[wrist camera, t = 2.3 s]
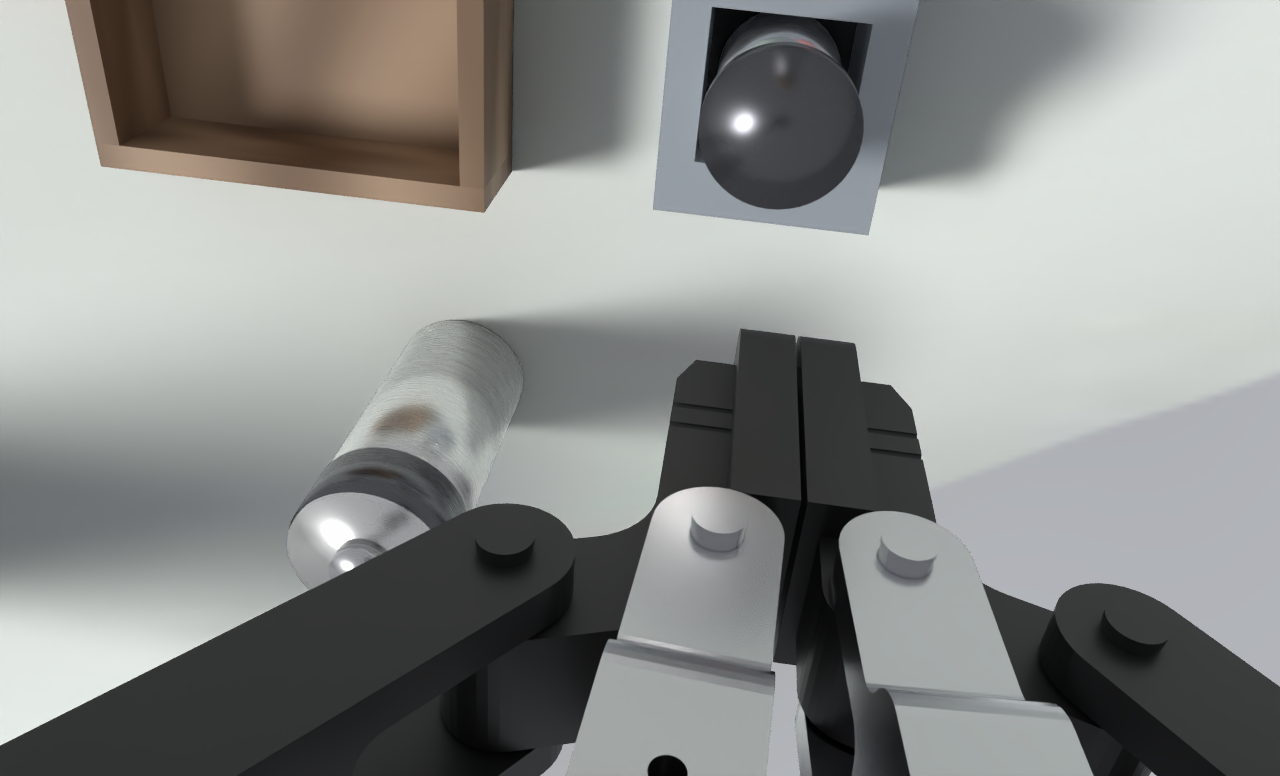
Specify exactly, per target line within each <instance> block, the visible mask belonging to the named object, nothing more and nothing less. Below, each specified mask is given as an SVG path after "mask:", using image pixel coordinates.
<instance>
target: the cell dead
mask: <svg viewBox="0 0 1280 776" xmlns="http://www.w3.org/2000/svg"><path fill="white" fill-rule="evenodd" d="M522 389H523V374H522V369H521V366H520V363H519V361H518V359H517V357H516V355H515V354H514V352H513V351H512V349H511V348H510V347H509V346H508V344H507V343H506V342H505V341H504V340H502V339H501V338H500V337H499V336H498V335H496V334H495V333H493V332H492V331H490V330H488V329H487V328H485V327H482V326H480V325H477V324H474V323H471V322H466V321H458V320H448V321H441V322H437V323H433V324H431V325H428V326H426V327H424V328H423V329H421V330H420V331H419V332H417V333H416V334H415V335H414V336H413V338H412V339H411V340H410V341H409V343H408V345H407V346H406V348H405V349H404V351H403V352H402V354H401V355H400V357H399V358H398V360H397V362H396V363H395V365H394V366H393V368H392V369H391V371H390V372H389V374H388V375H387V377H386V378H385V380H384V382H383V383H382V385H381V386H380V388H379V389H378V391H377V392H376V394H375V395H374V397H373V399H372V400H371V402H370V403H369V405H368V406H367V408H366V409H365V411H364V412H363V414H362V415H361V417H360V419H359V420H358V422H357V423H356V425H355V426H354V428H353V429H352V431H351V432H350V434H349V436H348V437H347V439H346V440H345V442H344V443H343V445H342V446H341V448H340V449H339V451H338V453H337V454H336V456H335V457H334V459H333V460H332V462H331V463H330V464H329V465H328V466H327V467H326V468H325V470H324V471H323V472H322V474H321V475H320V477H319V479H318V480H317V482H316V483H315V485H314V486H313V488H312V489H311V491H310V492H309V494H308V495H307V497H306V498H305V500H304V502H303V503H302V505H301V506H300V508H299V509H298V511H297V512H296V514H295V515H294V517H293V519H292V521H291V524H290V527H289V532H288V535H287V552H288V556H289V559H290V562H291V565H292V567H293V569H294V571H295V572H296V574H297V576H298V577H299V578H300V580H301V581H302V582H303V583H304V584H305V586H306V587H307V588H308V589H309V590H311V589H313V588H315V587H317V586H319V585H321V584H323V583H325V582H327V581H329V580H331V579H333V578H335V577H337V576H339V575H341V574H343V573H345V572H347V571H349V570H351V569H353V568H355V567H357V566H359V565H361V564H363V563H365V562H367V561H369V560H371V559H373V558H374V557H376V556H378V555H380V554H382V553H384V552H386V551H388V550H390V549H392V548H394V547H396V546H398V545H400V544H402V543H404V542H406V541H408V540H410V539H412V538H414V537H416V536H418V535H420V534H422V533H424V532H426V531H428V530H430V529H432V528H434V527H436V526H438V525H440V524H442V523H444V522H446V521H448V520H450V519H452V518H454V517H456V516H458V515H460V514H462V513H464V512H467V511H469V510H471V509H474V508H475V506H476V504H477V501H478V499H479V496H480V494H481V492H482V489H483V487H484V484H485V482H486V479H487V477H488V475H489V472H490V470H491V467H492V465H493V462H494V460H495V457H496V455H497V453H498V450H499V448H500V445H501V443H502V440H503V438H504V435H505V433H506V431H507V428H508V426H509V423H510V421H511V418H512V416H513V414H514V411H515V409H516V406H517V404H518V401H519V399H520V396H521V393H522Z"/></svg>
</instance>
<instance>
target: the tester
mask: <svg viewBox="0 0 1280 776" xmlns="http://www.w3.org/2000/svg"><path fill="white" fill-rule="evenodd" d="M919 2H920V0H672V8H671V19H670V30H669V41H668V52H667V62H666V73H665V84H664V95H663V106H662V116H661V127H660V138H659V149H658V160H657V170H656V181H655V192H654V203H653V210H661V211H670V212H678V213H686V214H695V215H703V216H711V217H720V218H728V219H736V220H745V221H753V222H762V223H770V224H778V225H787V226H795V227H803V228H812V229H820V230H828V231H837V232H845V233H854V234H862V235H869V230H870V225H871V221H872V216H873V212H874V207H875V203H876V198H877V193H878V189H879V184H880V180H881V175H882V171H883V166H884V161H885V157H886V152H887V148H888V143H889V139H890V134H891V129H892V125H893V120H894V116H895V111H896V107H897V102H898V97H899V93H900V88H901V84H902V79H903V75H904V70H905V66H906V61H907V56H908V52H909V47H910V43H911V38H912V34H913V29H914V24H915V20H916V15H917V11H918V6H919ZM716 7H719V8H728V9H737V10H746V11H756V12H765V13H774V14H783V15H793V16H802V17H811V18H821V19H830V20H839V21H848V22H857V27H856V33H855V38H854V43H853V49H852V54H851V59H850V64H849V70H848V75H849V77H850V78H851V80H852V81H853V83H854V86H855V88H856V90H857V92H858V96H859V100H860V103H861V107H862V111H863V119H864V132H863V140H862V144H861V148H860V152H859V154H858V156H857V159H856V161H855V163H854V165H853V167H852V168H851V170H850V172H849V173H848V174H847V176H846V177H845V178H844V179H843V181H842V182H841V183H840V184H839V185H838V186H837V187H836V188H834V189H833V190H832V191H831V192H829V193H828V194H827V195H825V196H823V197H822V198H820V199H818V200H816V201H814V202H812V203H810V204H807V205H804V206H801V207H797V208H791V209H781V210H775V209H765V208H759V207H756V206H752V205H749V204H747V203H745V202H742V201H740V200H738V199H737V198H735V197H734V196H732V195H730V194H729V193H728V192H727V191H726V190H724V189H723V188H722V187H721V186H720V185H719V184H718V183H717V182H716V180H715V179H714V178H713V176H712V175H711V173H710V172H709V170H708V168H707V166H706V164H705V162H704V159H703V156H702V153H701V149H700V144H699V134H698V132H699V120H700V114H701V109H702V105H703V102H704V99H705V95H706V86H707V78H708V69H709V60H710V52H711V43H712V34H713V26H714V17H715V8H716Z"/></svg>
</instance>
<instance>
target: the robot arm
mask: <svg viewBox="0 0 1280 776" xmlns="http://www.w3.org/2000/svg"><path fill="white" fill-rule="evenodd" d="M921 455H922V454H921V450H920V445H919V441H918V439H917V431H916V427H915V422H914V417H913V413H912V409H911V408H910V407H909V406H908V404H907V403H906V402H905V401H904V400H903V399H902V398H901V396H900V395H899V394H898V393H897V392H896V391H895V390H894V388H893V387H892V386H891V385H885V384H877V383H869V382H861V380H860V373H859V366H858V359H857V352H856V346H855V344H854V343H849V342H841V341H833V340H825V339H817V338H809V337H801V336H799V337H798V340H797V343H796V340H795V336H794V335H787V334H779V333H771V332H763V331H755V330H747V329H740V332H739V337H738V343H737V349H736V356H735V362H734V365H731V364H723V363H716V362H708V361H700V360H696V361H695V362H694V363H693V364H692V365H691V366H689V367H688V368H687V369H686V370H685V371H684V372H683V373H682V374H681V375H680V376H679V377H678V378H677V382H676V388H675V394H674V400H673V406H672V412H671V418H670V425H669V430H668V436H667V442H666V448H665V454H664V461H663V467H662V473H661V479H660V485H659V491H658V496H657V500H656V503H655V505H654V507H653V509H652V510H651V511H650V513H649V514H648V515H647V516H646V517H645V518H644V519H642V520H641V521H640V522H638V523H637V524H635V525H633V526H632V527H630V528H628V529H625V530H622V531H620V532H617V533H613V534H609V535H604V536H597V537H588V538H577V539H573V537H572V534H571V532H570V531H569V530H568V528H567V527H566V526H565V525H564V524H563V523H562V522H561V521H560V520H559V519H557V518H556V517H554V516H553V515H551V514H549V513H547V512H545V511H543V510H540V509H537V508H534V507H531V506H526V505H520V504H507V503H506V504H492V505H486V506H481V507H478V508H474V509H471V510H469V511H467V512H464V513H462V514H460V515H458V516H456V517H454V518H452V519H450V520H448V521H446V522H444V523H442V524H440V525H438V526H436V527H434V528H432V529H430V530H428V531H426V532H424V533H422V534H420V535H418V536H416V537H414V538H412V539H410V540H408V541H406V542H404V543H402V544H400V545H398V546H396V547H394V548H392V549H390V550H388V551H386V552H384V553H382V554H380V555H378V556H376V557H374V558H373V559H371V560H369V561H367V562H365V563H363V564H361V565H359V566H357V567H355V568H353V569H351V570H349V571H347V572H345V573H343V574H341V575H339V576H337V577H335V578H333V579H331V580H329V581H327V582H325V583H323V584H321V585H319V586H317V587H315V588H313V589H311V590H309V591H307V592H305V593H303V594H301V595H299V596H297V597H295V598H293V599H291V600H289V601H287V602H285V603H283V604H281V605H279V606H277V607H275V608H273V609H271V610H269V611H267V612H265V613H263V614H261V615H259V616H257V617H255V618H253V619H251V620H249V621H247V622H245V623H243V624H241V625H239V626H237V627H235V628H233V629H231V630H229V631H227V632H225V633H223V634H221V635H219V636H217V637H215V638H213V639H211V640H209V641H207V642H206V643H204V644H202V645H200V646H198V647H196V648H194V649H192V650H190V651H188V652H186V653H184V654H182V655H180V656H178V657H176V658H174V659H172V660H170V661H168V662H166V663H164V664H162V665H160V666H158V667H156V668H154V669H152V670H150V671H148V672H146V673H144V674H142V675H140V676H138V677H136V678H134V679H132V680H130V681H128V682H126V683H124V684H122V685H120V686H118V687H116V688H114V689H112V690H110V691H108V692H106V693H104V694H102V695H100V696H98V697H96V698H94V699H92V700H90V701H88V702H86V703H84V704H82V705H80V706H78V707H76V708H74V709H72V710H70V711H68V712H66V713H64V714H62V715H60V716H58V717H56V718H54V719H52V720H50V721H48V722H46V723H44V724H42V725H40V726H38V727H37V728H35V729H33V730H31V731H29V732H27V733H25V734H23V735H21V736H19V737H17V738H15V739H13V740H11V741H9V742H7V743H5V744H3V745H1V746H0V776H540V775H541V774H543V773H544V772H545V771H546V770H547V769H548V768H549V767H550V766H551V765H552V764H553V763H554V761H555V760H556V759H557V757H558V755H559V753H560V751H561V749H562V745H563V744H568V743H575V746H574V750H573V753H572V756H571V759H570V763H569V766H568V769H567V773H566V776H766V772H767V763H768V752H769V742H770V732H771V721H772V712H773V702H774V691H775V672H773V671H771V665H772V656H773V662H777V663H783V664H791V665H796V667H797V693H798V699H799V704H798V708H797V712H796V717H795V731H796V740H797V749H798V758H799V767H800V776H1149V775H1150V773H1151V771H1152V772H1153V773H1154V774H1155V775H1157V776H1280V687H1279V686H1278V685H1277V684H1275V683H1274V682H1272V681H1271V680H1270V679H1268V678H1267V677H1265V676H1264V675H1262V674H1261V673H1260V672H1259V671H1257V670H1256V669H1254V668H1253V667H1252V666H1250V665H1249V664H1247V663H1246V662H1245V661H1243V660H1242V659H1240V658H1239V657H1238V656H1236V655H1235V654H1233V653H1232V652H1231V651H1229V650H1228V649H1227V648H1225V647H1224V646H1222V645H1221V644H1220V643H1218V642H1217V641H1216V640H1214V639H1213V638H1211V637H1210V636H1209V635H1207V634H1206V633H1204V632H1203V631H1202V630H1200V629H1199V628H1197V627H1196V626H1195V625H1193V624H1192V623H1191V622H1189V621H1188V620H1186V619H1185V618H1183V617H1182V616H1181V615H1180V614H1178V613H1177V612H1175V611H1174V610H1172V609H1171V608H1169V607H1168V606H1166V605H1165V604H1163V603H1161V602H1160V601H1157V600H1156V599H1154V598H1152V597H1150V596H1148V595H1145V594H1143V593H1140V592H1138V591H1135V590H1131V589H1129V588H1125V587H1121V586H1117V585H1111V584H1102V583H1101V584H1100V583H1095V584H1084V585H1079V586H1076V587H1073V588H1071V589H1069V590H1068V591H1066V592H1065V593H1064V594H1063V595H1062V596H1061V597H1060V598H1059V600H1058V602H1057V604H1056V607H1055V609H1054V612H1053V611H1050V610H1047V609H1045V608H1042V607H1039V606H1036V605H1034V604H1031V603H1028V602H1025V601H1023V600H1020V599H1017V598H1014V597H1012V596H1009V595H1006V594H1004V593H1001V592H999V591H997V590H994V589H992V588H991V587H989V586H987V585H985V584H983V583H982V582H981V579H980V576H979V574H978V571H977V568H976V565H975V563H974V560H973V558H972V556H971V554H970V552H969V550H968V549H967V548H966V546H965V545H964V544H963V543H962V542H961V541H960V540H959V539H958V538H957V537H956V536H955V535H953V534H952V533H951V532H949V531H948V530H947V529H945V528H943V527H942V526H940V525H938V524H936V519H935V515H934V510H933V505H932V500H931V496H930V491H929V487H928V482H927V477H926V473H925V468H924V464H923V460H921Z"/></svg>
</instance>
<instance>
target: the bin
mask: <svg viewBox="0 0 1280 776" xmlns="http://www.w3.org/2000/svg"><path fill="white" fill-rule="evenodd" d="M65 3H66V7H67V12H68V16H69V21H70V26H71V30H72V35H73V40H74V44H75V49H76V53H77V58H78V63H79V67H80V72H81V76H82V81H83V86H84V90H85V95H86V99H87V104H88V109H89V113H90V118H91V122H92V127H93V132H94V136H95V141H96V145H97V150H98V155H99V159H100V164H101V166H103V167H111V168H119V169H127V170H136V171H144V172H152V173H161V174H169V175H177V176H185V177H194V178H202V179H210V180H218V181H227V182H235V183H243V184H252V185H260V186H268V187H276V188H285V189H293V190H301V191H309V192H318V193H326V194H334V195H343V196H351V197H359V198H367V199H376V200H384V201H392V202H400V203H409V204H417V205H425V206H434V207H442V208H450V209H458V210H467V211H475V212H483V213H484V212H485V211H486V209H487V208H488V206H489V205H490V203H491V202H492V200H493V199H494V197H495V196H496V194H497V193H498V191H499V190H500V188H501V187H502V185H503V184H504V182H505V181H506V179H507V178H508V176H509V175H510V173H511V172H512V105H513V20H514V0H65Z"/></svg>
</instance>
